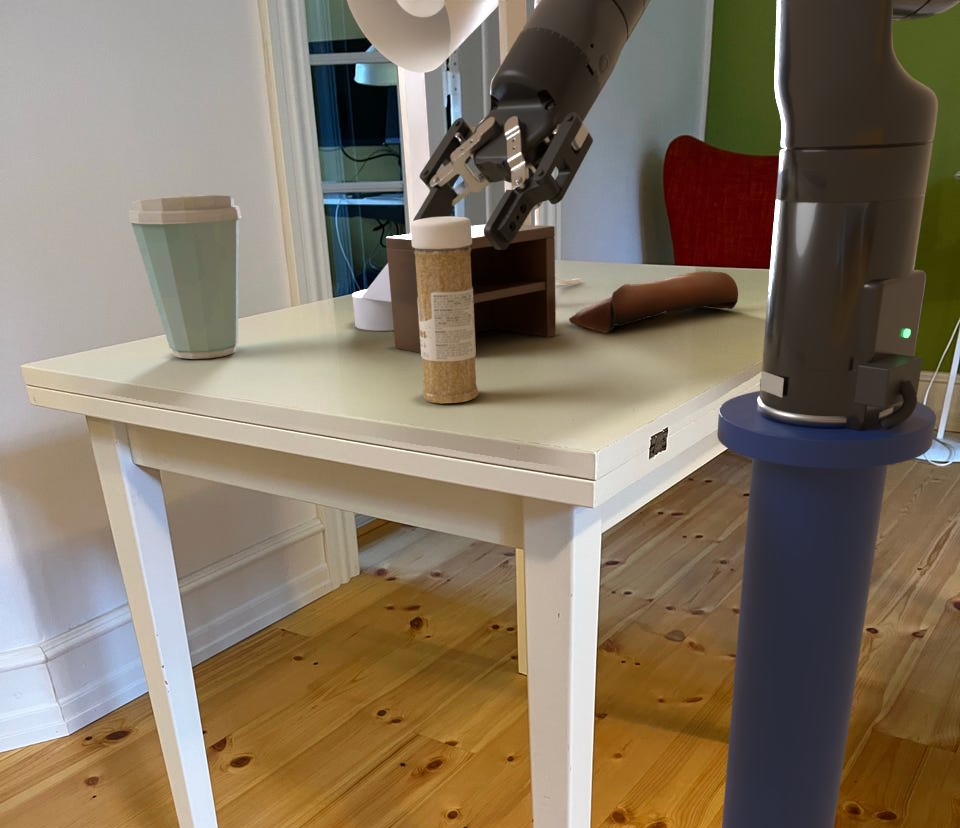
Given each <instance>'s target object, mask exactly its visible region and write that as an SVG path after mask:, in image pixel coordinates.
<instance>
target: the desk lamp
mask: <svg viewBox="0 0 960 828" xmlns="http://www.w3.org/2000/svg"><path fill="white" fill-rule="evenodd" d="M540 1H541V0H534V7H533V8H534V9H535V8H536V6H537V5H538V4H539V3H540ZM346 2H347V5H348V7H349V11H350V12H351V15H352V17H353V19H354V20H355V22H356V24H357V25H358V28H359V29H360V30H361V32H362V34H363V35H364V36H365V38H366V39H367V41H369V43H370V44H371V45H372V46H373V47H374V48H375V49H376V50H377V51H378V52H379V53H380V54H381V55H382V56H383V57H384V58H385V59H387V60H388V61H390V62H391V63H392V64H394V65H396V66H397V74H398V75H397V76H398V88H399V89H398V90H399V101H400V103H399V104H400V115H401V128H402V129H401V130H402V140H403V141H402V142H403V143H402V144H403V154H404V168H405V180H406V181H405V182H406V195H407V197H406V198H407V208H408V209H407V210H408V221H409V222H408V223H409V234H411V223H412V222H413V220H414V218H415V216H416V214H417V213H418V211H419V209H420V208H421V206H422V204H423V203H424V201H425V199H426V198H427V196H428V194H429V192H430V190H429V188H428V187H427V186H426V185H425V184H424V182H423V181H422V180H421V179H420V173H421V172H422V170H423V169H424V167H425V166H426V164H427V162H428V161H429V159H430V158H431V154H430V153H431V152H430V138H429V124H428V123H429V121H428V109H427V107H428V106H427V93H426V91H427V90H426V78H425V77H426V75H425V74H426V73H430V72H432V71H435V70H437V69H438V68H439V67H440V66H441V65H443V64H444V63H445V61H446V60H448V59H449V58H450V56H451V55H452V54H453V53H455V52H456V50H457V49H458V48H459V47H460V46H461V45H462V44H463V43H464V42H465V41H466V40H467V39H468V38H469V36H471V35H472V34H473V32H474V31H475V30H477V28H478V27H480V25H481V24H482V23H483V22H484V21H485V20H486V19H487V18H488V17H489V16H490V15H491V14H492V13H493V12H494V11H495V10H496V9H497V8H498V28H499V29H498V30H499V61H500V62H499V63H500V65H501V64H502V62H503V61H504V59H505V57H506V56H507V54H508V52H509V51H510V49H511V47H512V46H513V44H514V42H515V41H516V39H517V37H518V36H519V34H520V32H521V31H522V29H523V27H524V26H525V24H526V22H527V21H528V18H527V17H528V16H527V15H528V14H527V13H528V12H527V10H528V9H527V0H346ZM503 182H504V183H503V184H504V193H505V192H506V190H514V188H513V187H512V183H509V182H506V181H504V180H503ZM523 225H532V211H530V213H529V215H528V216H527V218H526V220H525V221H524V223H523ZM534 225H540V226H541V216H540V207H539V208H537V209H536V210H534ZM581 281H582V280H581V277H577V278H573V279H572V278H571V279H561V278H557V277H555V284H557V285H560V286H561V285H563V286H570V285H575V284H580V283H581Z"/></svg>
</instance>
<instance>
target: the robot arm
mask: <svg viewBox="0 0 960 828" xmlns="http://www.w3.org/2000/svg"><path fill="white" fill-rule="evenodd" d="M650 1H651V0H540V3H539V4H538V5H537V6H536V8H535V9H534V10H533V11H532V12H531V14H530V16H529V17H528V18H527V22H526V24H525V26H524V27H523V29H522V31H521V32H520V34H519V36H518V37H517V39H516V41H515V42H514V44H513V46H512V47H511V49H510V51H509V52H508V54H507V56H506V57H505V59H504V61H503V62H502V64H500V65H499V67H498V69H497V71H496V72H495V74H494V76H493V77H492V79H491V82H490V86H489V90H490V91H489V94H490V110H489V112H488V113H487V114H486V115H485V116H484V117H483V119H482V120H481V121H480V122H478V123H477V125H476V126H469V124H468V123H467V122H466V121H465V120H464V118H463V117H458V118H457V119H455V120H454V121H453V123H452V124H451V125H450V126H449V128H448V129H447V131H446V133H445V135H444V136H443V138H442V139H441V141H440V142H439V144H438V145H437V147H436V149H435V150H434V152H432V155H430V159H429V161H428V162H427V164H426V166H425V167H424V169H423V170H422V172H421V173H420V179H421V180H422V181H423V182H424V184H425V185H426V186H427V187H428V188H429V190H430V192H429V194H428V196H427V198H426V199H425V201H424V203H423V204H422V206H421V208H420V209H419V211H418V213H417V214H416V216H415V218H414V220H413V221H415V220H419V219H424V218H431V217H448V216H451V215H452V213H453V211H454V209H455V206H456V205H457V204H459V202H461V201H462V200H463V199H465V197H467V196H468V195H470V194H471V193H474V194H479V193H480V192H482V191H483V190H484V189H486V188H487V187H488V186H489V185H490V184H492V183H499V182H504V181H506V182H509V183H512V187H513V188H514V190H506V192H505V191H504V193H503V195H502V197H501V198H500V200H499V202H498V203H497V205H496V207H495V208H494V209H493V211H492V213H491V215H490V217H489V218H488V220H487V221H486V225H485V227H484V235H485V237H486V238H487V239H488V241H489V242H490V243H491V244H492V245H493V247H494V248H495V249H499V250H505V249H507V247H508V246H509V244H510V242H511V241H512V240H513V239H514V238H515V237H516V235H517V233H518V232H519V230H520V228H521V227H522V226H521V225H523V223H524V221H525V220H526V218H527V216H528V215H529V213H530V211H531V212H533V211H535V210H536V209H537V208H539V209H540V207H541V206H542V204H543V202H546V201H548V202H549V203H550V205H556V204H558V203H560V202H561V201H562V200H563V198H564V197H565V195H566V193H567V191H568V190H569V187H570V186H571V184H572V182H573V180H574V178H575V176H576V174H577V173H578V171H579V170H580V167H581V165H582V164H583V161H584V160H585V158H586V156H587V154H588V152H589V150H590V148H591V147H592V144H593V142H594V138H593V136H592V135H591V134H590V132H589V130H588V128H587V126H586V125H585V123H584V121H585V119H586V118H587V116H588V114H589V112H590V111H591V109H592V107H593V105H594V104H595V102H596V101H597V99H598V97H599V96H600V93H601V92H602V90H603V88H604V87H605V85H606V83H607V82H608V80H609V78H610V77H611V75H612V74H613V71H614V70H615V67H616V65H617V62H618V61H619V58H620V56H621V53H622V51H623V48H624V47H625V45H626V43H627V41H628V40H629V38H630V36H631V35H632V33H633V31H634V30H635V28H636V27H637V25H638V24H639V21H640V19H641V18H642V16H643V14H644V13H645V11H646V9H647V7H648V5H649V4H650ZM959 3H960V0H776V18H775V19H776V20H775V22H776V23H775V24H776V25H775V51H774V53H775V54H774V78H773V80H774V83H773V84H774V96H775V101H776V106H777V109H778V114H779V119H780V124H781V125H780V127H781V129H780V130H781V132H780V149H779V156H778V168H777V169H778V170H777V181H776V191H775V205H774V217H773V227H772V239H771V253H770V262H769V263H770V264H769V275H768V287H767V288H768V289H767V298H766V299H767V300H766V311H765V322H764V323H765V324H764V335H763V346H762V363H761V373H760V375H761V376H760V381H759V387H760V388H759V391H760V395H759V396H758V402H757V411H758V413H759V414H760V415H762V416H763V417H765V418H767V419H770V420H772V421H776V422H779V423H783V424H788V425H793V426H800V427H809V428H824V429H851V430H856V431H864V430H866V429H869V428H871V427H873V426H876V425H878V424H881V425H882V426H883V427H884V428H885V429H887V430H890V429H891V428H893V427H894V426H896V425H898V424H900V423H902V422H903V421H905V420H906V419H908V418H909V417H910V416H911V414H912V413H913V411H914V410H915V407H916V404H917V402H918V391H919V385H920V378H921V374H922V373H921V372H922V367H923V359H924V358H923V357H921V356H915V354H916V353H915V352H916V347H917V339H918V334H919V326H920V321H921V314H922V308H923V301H924V294H925V288H926V287H925V286H926V281H927V273H926V272H925V271H924V270H921V269H915V266H916V259H917V252H918V245H919V239H920V234H921V233H920V232H921V225H922V218H923V212H924V205H925V200H926V199H925V197H926V192H927V184H928V179H929V172H930V165H931V159H932V150H933V145H934V143H933V141H934V139H935V132H936V127H937V126H936V125H937V120H938V119H937V118H938V111H939V101H938V97H937V95H936V93H935V92H934V91H933V90H932V89H931V88H930V87H929V86H927V85H925V84H924V83H922V82H920V81H918V80H917V79H916V78H914V77H912V76H911V74H910V73H908V71H907V70H906V69H905V68H904V67H903V65H902V64H901V62H900V61H899V59H898V57H897V54H896V53H895V49H894V42H893V23H894V22H898V21H900V22H902V21H912V20H913V21H914V20H920V19H926V18H930V17H934V16H938V15H940V14H942V13H945V12H947V11H948V10H951V9H952V8H954V7H955V6H957V5H958V4H959ZM471 160H473V161H472V162H473V164H474V167H476V169H477V170H478V171H479V173H477V174H476V173H474V171H472V169H471V168H470V166H469V162H470V161H471ZM441 166H444V167H443V168H442V169H440V168H441ZM439 169H440V170H439ZM555 169H556V170H557V176H556V177H555V178H554V176H553V175H552V174H553V172H554V171H555ZM460 176H461V178H462V179H463V181H461V182H460V183H459V184H457V186H455V187H454V185H455V184H456V182H457V181H458V179H459V178H460ZM453 187H454V188H453Z"/></svg>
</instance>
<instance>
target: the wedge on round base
mask: <svg viewBox="0 0 960 828" xmlns="http://www.w3.org/2000/svg"><path fill="white" fill-rule="evenodd" d="M352 305H353V315H354V326H355V328H357V329H359V330H365V331H377V332H382V331H384V332H385V331H387V332H388V331H394V328H393V316H392V305H391V293H390V281H389V269H388V262H387V263H386V265H384V266H383V268H382V270H381V271H380V272H379V273H378V275H377V276H376V277H375V278H374V280H373V281H372V282H371V284H370V285H369V286H368V287H367V289H361V290H359V291H355V292H353V293H352Z"/></svg>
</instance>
